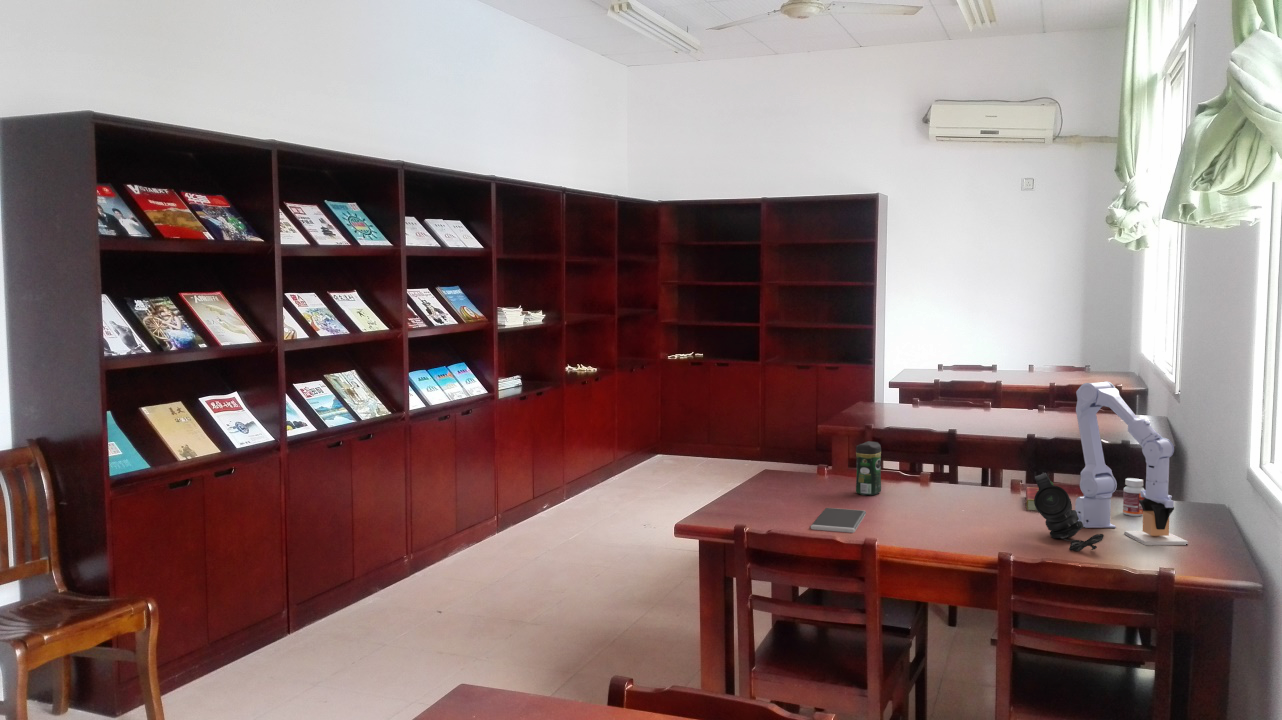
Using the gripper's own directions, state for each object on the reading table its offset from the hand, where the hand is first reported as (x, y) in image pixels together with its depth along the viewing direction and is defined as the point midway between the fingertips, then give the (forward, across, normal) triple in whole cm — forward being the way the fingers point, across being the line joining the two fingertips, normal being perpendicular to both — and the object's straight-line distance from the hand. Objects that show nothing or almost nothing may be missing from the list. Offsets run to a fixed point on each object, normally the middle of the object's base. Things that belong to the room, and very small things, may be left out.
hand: (1155, 526), depth 274 cm
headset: (+4, 0, +26) cm, 26 cm away
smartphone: (+4, +23, +87) cm, 90 cm away
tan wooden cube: (+2, 0, 0) cm, 2 cm away
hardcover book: (+4, +46, +13) cm, 48 cm away
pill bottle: (+4, +31, -9) cm, 33 cm away
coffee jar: (+4, +64, +69) cm, 94 cm away
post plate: (+4, 0, 0) cm, 4 cm away
